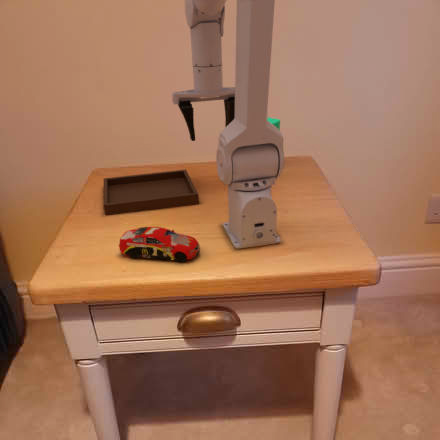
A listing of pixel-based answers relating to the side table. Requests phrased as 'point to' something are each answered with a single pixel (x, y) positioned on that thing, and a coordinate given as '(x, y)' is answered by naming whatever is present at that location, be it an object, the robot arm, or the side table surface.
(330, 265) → the side table surface
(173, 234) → the race car
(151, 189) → the tray
